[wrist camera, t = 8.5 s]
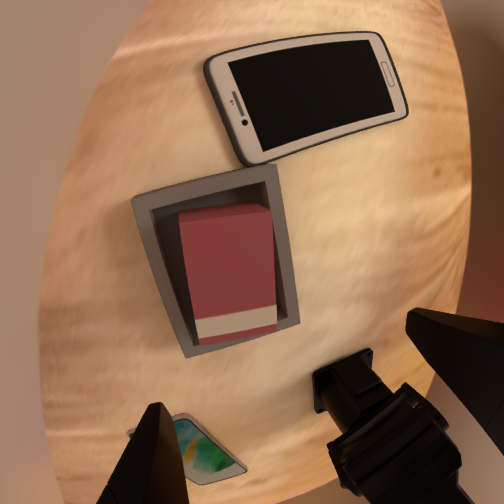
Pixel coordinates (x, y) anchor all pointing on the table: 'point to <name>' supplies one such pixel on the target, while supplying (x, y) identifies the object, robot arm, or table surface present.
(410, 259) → the table surface
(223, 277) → the card box
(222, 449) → the smartphone
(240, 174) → the pocket tray
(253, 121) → the cell phone
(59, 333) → the table surface
